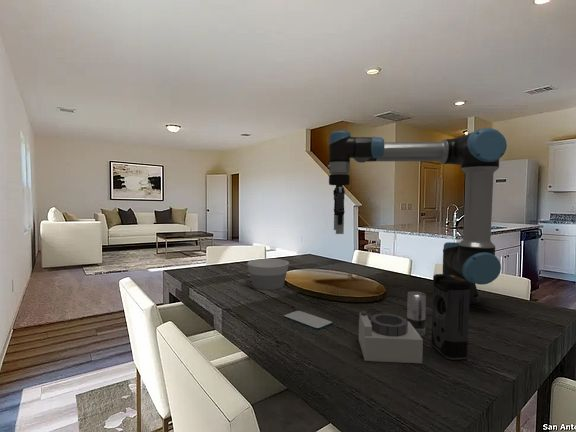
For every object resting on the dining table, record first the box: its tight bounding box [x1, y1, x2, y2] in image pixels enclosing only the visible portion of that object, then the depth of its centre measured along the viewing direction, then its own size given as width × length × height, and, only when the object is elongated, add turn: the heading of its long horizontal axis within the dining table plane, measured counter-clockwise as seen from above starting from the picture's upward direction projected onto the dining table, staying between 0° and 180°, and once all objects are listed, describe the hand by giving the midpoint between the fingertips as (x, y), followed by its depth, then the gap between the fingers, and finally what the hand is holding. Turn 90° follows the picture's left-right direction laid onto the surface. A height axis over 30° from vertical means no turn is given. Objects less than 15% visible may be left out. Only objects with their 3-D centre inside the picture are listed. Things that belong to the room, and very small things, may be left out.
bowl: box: [246, 258, 290, 291], centre depth 152 cm, size 19×19×11 cm
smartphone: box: [283, 310, 333, 331], centre depth 110 cm, size 8×1×16 cm
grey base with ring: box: [358, 310, 424, 364], centre depth 89 cm, size 14×12×9 cm
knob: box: [406, 290, 427, 337], centre depth 100 cm, size 5×5×12 cm
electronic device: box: [430, 273, 470, 361], centre depth 88 cm, size 9×6×20 cm, turn 5°
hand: (338, 231), depth 123 cm, fingers open, 13 cm apart
